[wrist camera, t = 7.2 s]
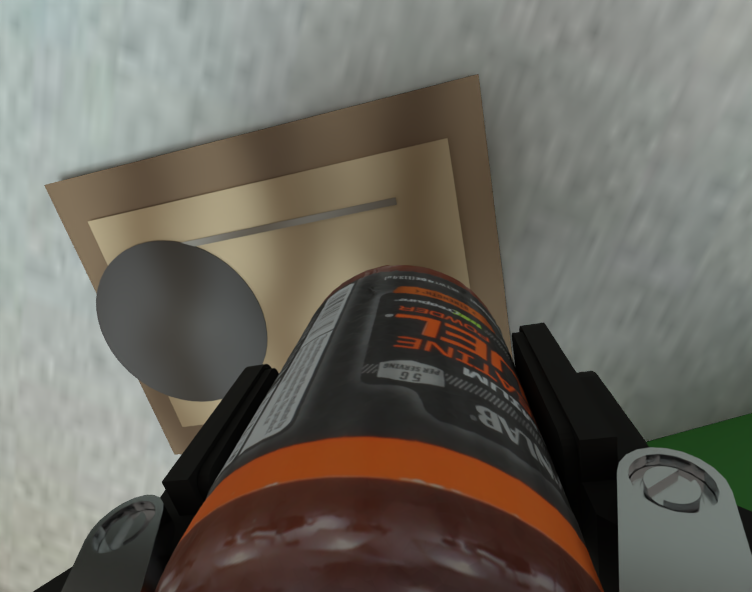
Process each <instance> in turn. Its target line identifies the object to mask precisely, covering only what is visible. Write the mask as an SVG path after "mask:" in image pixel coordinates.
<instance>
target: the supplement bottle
mask: <svg viewBox="0 0 752 592" xmlns="http://www.w3.org/2000/svg"><path fill="white" fill-rule="evenodd" d="M155 592H604V590H603V588H602V585H601V583H600V580H599V578H598V576H597V573H596V571H595V568H594V566H593V563H592V560H591V558H590V555H589V552H588V550H587V547H586V544H585V541H584V538H583V536H582V533H581V530H580V528H579V524H578V522H577V520H576V518H575V516H574V514H573V512H572V510H571V508H570V505H569V502H568V499H567V497H566V495H565V492H564V489H563V486H562V484H561V482H560V480H559V476H558V474H557V472H556V470H555V466H554V464H553V461H552V459H551V455H550V453H549V451H548V449H547V447H546V444H545V442H544V440H543V437H542V435H541V432H540V430H539V427H538V424H537V421H536V419H535V417H534V415H533V411H532V409H531V408H530V405H529V402H528V400H527V397H526V394H525V391H524V389H523V387H522V384H521V380H520V378H519V376H518V374H517V372H516V368H515V365H514V363H513V360H512V357H511V355H510V353H509V350H508V347H507V345H506V343H505V340H504V338H503V336H502V332H501V330H500V327H499V326H498V325H497V324H496V321H495V319H494V318H493V316H492V315H491V313H490V311H489V310H488V308H487V307H486V306H485V304H484V303H483V302H482V301H481V300H480V298H479V297H478V296H477V295H476V294H475V293H474V292H473V291H472V290H471V289H469V288H468V287H466V286H465V285H464V284H463V283H461V282H460V281H458V280H456V279H455V278H453V277H451V276H448V275H446V274H444V273H442V272H439V271H436V270H433V269H430V268H425V267H420V266H411V265H395V266H390V265H385V266H380V267H377V268H374V269H370V270H366V271H364V272H362V273H360V274H358V275H356V276H354V277H352V278H350V279H349V280H347V281H345V282H344V283H342V284H341V285H340V286H339V287H338V288H336V289H335V290H333V291H332V292H331V294H329V295H328V297H327V298H326V299H325V300H324V301H323V303H322V304H321V306H320V307H319V308H318V309H317V311H316V312H315V314H314V315H313V317H312V318H311V320H310V322H309V324H308V326H307V327H306V329H305V330H304V332H303V334H302V336H301V338H300V339H299V341H298V343H297V344H296V346H295V348H294V349H293V351H292V353H291V354H290V356H289V357H288V359H287V361H286V363H285V364H284V366H283V368H282V370H281V372H280V373H279V375H278V377H277V378H276V380H275V381H274V383H273V385H272V387H271V388H270V390H269V391H268V393H267V395H266V397H265V399H264V400H263V402H262V403H261V405H260V407H259V408H258V410H257V412H256V413H255V415H254V417H253V418H252V420H251V422H250V423H249V425H248V427H247V428H246V430H245V432H244V433H243V435H242V436H241V438H240V440H239V442H238V443H237V445H236V447H235V449H234V450H233V452H232V454H231V455H230V457H229V459H228V460H227V462H226V464H225V465H224V467H223V468H222V470H221V472H220V473H219V475H218V477H217V478H216V480H215V482H214V483H213V485H212V487H211V489H210V490H209V492H208V495H207V497H206V500H205V502H204V503H203V504H202V506H201V507H200V509H199V511H198V512H197V514H196V515H195V517H194V518H193V520H192V521H191V523H190V525H189V527H188V528H187V530H186V532H185V533H184V535H183V537H182V538H181V540H180V542H179V543H178V545H177V547H176V548H175V550H174V552H173V554H172V556H171V557H170V559H169V561H168V563H167V565H166V567H165V570H164V572H163V574H162V576H161V578H160V580H159V582H158V585H157V587H156V589H155Z"/></svg>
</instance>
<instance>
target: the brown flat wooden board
mask: <svg viewBox="0 0 752 592" xmlns="http://www.w3.org/2000/svg"><path fill="white" fill-rule="evenodd" d="M44 186H45V188H46V190H47V192H48V194H49V196H50V198H51V200H52V202H53V204H54V206H55V208H56V210H57V212H58V214H59V217H60V219H61V221H62V223H63V225H64V227H65V229H66V231H67V233H68V235H69V237H70V239H71V241H72V243H73V245H74V248H75V250H76V252H77V254H78V256H79V258H80V260H81V262H82V264H83V266H84V268H85V270H86V272H87V274H88V276H89V279H90V281H91V283H92V285H93V287H94V289H95V291H96V293H97V297H96V310H97V316H98V321H99V325H100V328H101V331H102V334H103V336H104V338H105V340H106V342H107V344H108V346H109V348H110V349H111V351H112V352H113V354H114V355H115V356H116V358H117V359H118V360H119V361H120V363H121V364H122V365H123V366H124V367H125V368H126V369H127V370H128V371H129V372H130V373H131V374H132V375H133V376H135V377H136V378H137V379H138V380H139V382H140V384H141V386H142V388H143V390H144V392H145V394H146V396H147V398H148V401H149V403H150V405H151V407H152V409H153V411H154V413H155V415H156V417H157V419H158V421H159V423H160V425H161V427H162V429H163V432H164V434H165V436H166V438H167V440H168V442H169V444H170V446H171V448H172V450H173V452H174V454H183V452H184V451H185V449H186V448H187V447H188V445H189V444H190V443H191V441H192V440H193V439H194V437H195V436H196V434H197V433H198V432H199V430H200V429H201V428H202V426H203V425H204V423H205V422H206V421H207V419H208V418H209V417H210V415H211V414H212V413H213V411H214V410H215V408H216V407H217V406H218V404H219V403H220V402H221V400H222V399H223V398H224V396H225V395H226V393H227V392H228V391H229V389H230V388H231V387H232V385H233V384H234V382H235V381H236V380H237V378H238V377H239V376H240V374H241V373H242V372H243V370H244V369H245V368H246V367H249V366H255V365H262V364H268V365H270V366H271V368H275V369H277V371H278V373H280V372H281V370H282V368H283V366H284V364H285V363H286V361H287V359H288V357H289V356H290V354H291V353H292V351H293V349H294V348H295V346H296V344H297V343H298V341H299V339H300V338H301V336H302V334H303V332H304V330H305V329H306V327H307V326H308V324H309V322H310V320H311V318H312V317H313V315H314V314H315V312H316V311H317V309H318V308H319V307H320V306H321V304H322V303H323V301H324V300H325V299H326V298H327V297H328V295H329V294H331V292H332V291H333V290H335V289H336V288H338V287H339V286H340V285H341V284H342V283H344V282H345V281H347V280H349V279H350V278H352V277H354V276H356V275H358V274H360V273H362V272H364V271H366V270H370V269H374V268H377V267H380V266H385V265H390V266H395V265H411V266H420V267H425V268H430V269H433V270H436V271H439V272H442V273H444V274H446V275H448V276H451V277H453V278H455V279H456V280H458V281H460V282H461V283H463V284H464V285H465V286H466V287H468V288H469V289H471V290H472V291H473V292H474V293H475V294H476V295H477V296H478V297H479V298H480V300H481V301H482V302H483V303H484V304H485V306H486V307H487V308H488V310H489V311H490V313H491V315H492V316H493V318H494V319H495V321H496V324H497V325H498V326H499V327H500V330H501V332H502V336H503V338H504V340H505V343H506V345H507V347H508V350H509V353H510V355H511V357H512V350H511V341H510V333H509V325H508V316H507V308H506V300H505V291H504V283H503V275H502V266H501V258H500V250H499V241H498V233H497V225H496V216H495V208H494V200H493V191H492V183H491V175H490V166H489V158H488V150H487V141H486V133H485V125H484V117H483V108H482V100H481V92H480V83H479V75H478V74H477V75H473V76H469V77H465V78H461V79H457V80H453V81H449V82H445V83H442V84H438V85H434V86H430V87H426V88H422V89H418V90H414V91H410V92H406V93H402V94H399V95H395V96H391V97H387V98H383V99H379V100H375V101H371V102H367V103H363V104H359V105H356V106H352V107H348V108H344V109H340V110H336V111H332V112H328V113H324V114H320V115H316V116H313V117H309V118H305V119H301V120H297V121H293V122H289V123H285V124H281V125H277V126H274V127H270V128H266V129H262V130H258V131H254V132H250V133H246V134H242V135H238V136H234V137H231V138H227V139H223V140H219V141H215V142H211V143H207V144H203V145H199V146H195V147H191V148H188V149H184V150H180V151H176V152H172V153H168V154H164V155H160V156H156V157H152V158H148V159H145V160H141V161H137V162H133V163H129V164H125V165H121V166H117V167H113V168H109V169H106V170H102V171H98V172H94V173H90V174H86V175H82V176H78V177H74V178H70V179H66V180H63V181H59V182H55V183H51V184H47V185H44ZM512 360H513V358H512Z"/></svg>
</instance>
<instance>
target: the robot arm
mask: <svg viewBox="0 0 752 592" xmlns="http://www.w3.org/2000/svg"><path fill="white" fill-rule="evenodd" d="M512 342H513V351H514V359H515V368H516V372H517V374H518V376H519V378H520V380H521V384H522V387H523V389H524V391H525V394H526V397H527V400H528V402H529V405H530V408H531V409H532V411H533V415H534V417H535V419H536V421H537V424H538V427H539V430H540V432H541V435H542V437H543V440H544V442H545V444H546V447H547V449H548V451H549V453H550V455H551V459H552V461H553V464H554V466H555V470H556V472H557V474H558V476H559V480H560V482H561V484H562V486H563V489H564V492H565V495H566V497H567V499H568V502H569V505H570V508H571V510H572V512H573V514H574V516H575V518H576V520H577V522H578V524H579V528H580V530H581V533H582V536H583V538H584V541H585V544H586V547H587V550H588V552H589V555H590V558H591V560H592V563H593V566H594V568H595V571H596V573H597V576H598V578H599V580H600V583H601V585H602V588H603V590H604V592H752V511H750V510H747V509H745V508H742V507H740V506H738V505H736V502H735V498H734V495H733V492H732V490H731V488H730V486H729V484H728V482H727V481H726V479H725V478H724V477H723V476H722V475H721V474H720V473H719V472H718V471H717V470H716V469H715V468H713V467H712V466H710V465H709V464H707V463H706V462H704V461H702V460H701V459H699V458H697V457H694V456H692V455H689V454H687V453H684V452H681V451H677V450H672V449H668V448H654V447H649V446H648V444H647V443H646V442H645V440H644V439H643V437H642V436H641V435H640V433H639V432H638V430H637V429H636V428H635V426H634V425H633V424H632V422H631V421H630V419H629V418H628V417H627V415H626V414H625V412H624V411H623V410H622V408H621V407H620V405H619V404H618V403H617V401H616V400H615V399H614V397H613V396H612V394H611V393H610V392H609V390H608V389H607V387H606V386H605V385H604V383H603V382H602V381H601V379H600V378H599V376H598V375H597V374H596V373H595V372H593V371H587V372H579V373H576V371H575V370H574V368H573V367H572V365H571V364H570V362H569V361H568V359H567V357H566V356H565V354H564V353H563V351H562V350H561V348H560V346H559V345H558V343H557V342H556V340H555V339H554V337H553V336H552V334H551V332H550V331H549V329H548V328H547V326H546V325H545V323H538V324H531V325H524V326H520V328H519V332H517V333H512ZM278 375H279V373H278V371H277V369H275V368H271V366H270V365H268V364H262V365H255V366H249V367H246V368H245V369H244V370H243V372H242V373H241V374H240V376H239V377H238V378H237V380H236V381H235V382H234V384H233V385H232V387H231V388H230V389H229V391H228V392H227V393H226V395H225V396H224V398H223V399H222V400H221V402H220V403H219V404H218V406H217V407H216V408H215V410H214V411H213V413H212V414H211V415H210V417H209V418H208V419H207V421H206V422H205V423H204V425H203V426H202V428H201V429H200V430H199V432H198V433H197V434H196V436H195V437H194V439H193V440H192V441H191V443H190V444H189V445H188V447H187V448H186V449H185V451H184V452H183V454H182V455H181V456H180V458H179V459H178V460H177V462H176V463H175V464H174V466H173V467H172V469H171V470H170V471H169V473H168V474H167V475H166V477H165V478H164V480H163V481H162V484H163V485H164V487H165V489H166V490H165V491H164V493H163V494H162V496H161V497H157V496H155V495H144V496H140V497H136V498H133V499H131V500H129V501H127V502H125V503H123V504H121V505H119V506H118V507H116V508H115V509H113V510H112V511H110V512H109V513H108V514H107V515H106V516H104V517H103V518H102V519H101V520H100V521H99V522H98V523H97V524H96V525H95V526H94V527H93V529H92V530H91V531H90V533H89V534H88V536H87V538H86V539H85V541H84V543H83V545H82V548H81V550H80V552H79V554H78V556H77V558H76V561H75V563H74V565H73V567H71V568H69V569H68V570H66V571H65V572H63V573H62V574H60V575H58V576H57V577H55V578H54V579H52V580H51V581H49V582H47V583H46V584H44V585H43V586H41V587H40V588H38V589H36V590H35V591H33V592H155V589H156V587H157V585H158V582H159V580H160V578H161V576H162V574H163V572H164V570H165V567H166V565H167V563H168V561H169V559H170V557H171V556H172V554H173V552H174V550H175V548H176V547H177V545H178V543H179V542H180V540H181V538H182V537H183V535H184V533H185V532H186V530H187V528H188V527H189V525H190V523H191V521H192V520H193V518H194V517H195V515H196V514H197V512H198V511H199V509H200V507H201V506H202V504H203V503H204V502H205V500H206V497H207V495H208V492H209V490H210V489H211V487H212V485H213V483H214V482H215V480H216V478H217V477H218V475H219V473H220V472H221V470H222V468H223V467H224V465H225V464H226V462H227V460H228V459H229V457H230V455H231V454H232V452H233V450H234V449H235V447H236V445H237V443H238V442H239V440H240V438H241V436H242V435H243V433H244V432H245V430H246V428H247V427H248V425H249V423H250V422H251V420H252V418H253V417H254V415H255V413H256V412H257V410H258V408H259V407H260V405H261V403H262V402H263V400H264V399H265V397H266V395H267V393H268V391H269V390H270V388H271V387H272V385H273V383H274V381H275V380H276V378H277V377H278Z"/></svg>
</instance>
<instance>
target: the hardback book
mask: <svg viewBox="0 0 752 592" xmlns="http://www.w3.org/2000/svg"><path fill="white" fill-rule="evenodd" d="M646 443H647V444H648V446H649V447H654V448H668V449H672V450H677V451H681V452H684V453H687V454H689V455H692V456H694V457H697V458H699V459H701V460H702V461H704V462H706V463H707V464H709V465H710V466H712V467H713V468H715V469H716V470H717V471H718V472H719V473H720V474H721V475H722V476H723V477H724V478H725V479H726V481H727V482H728V484H729V486H730V488H731V490H732V492H733V495H734V498H735V502H736V505H738V506H740V507H742V508H745V509H747V510H750V511H752V413H751V414H747V415H743V416H740V417H736V418H732V419H729V420H725V421H721V422H718V423H714V424H710V425H706V426H703V427H699V428H695V429H692V430H688V431H684V432H681V433H677V434H673V435H670V436H666V437H662V438H659V439H655V440H651V441H648V442H646Z"/></svg>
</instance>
